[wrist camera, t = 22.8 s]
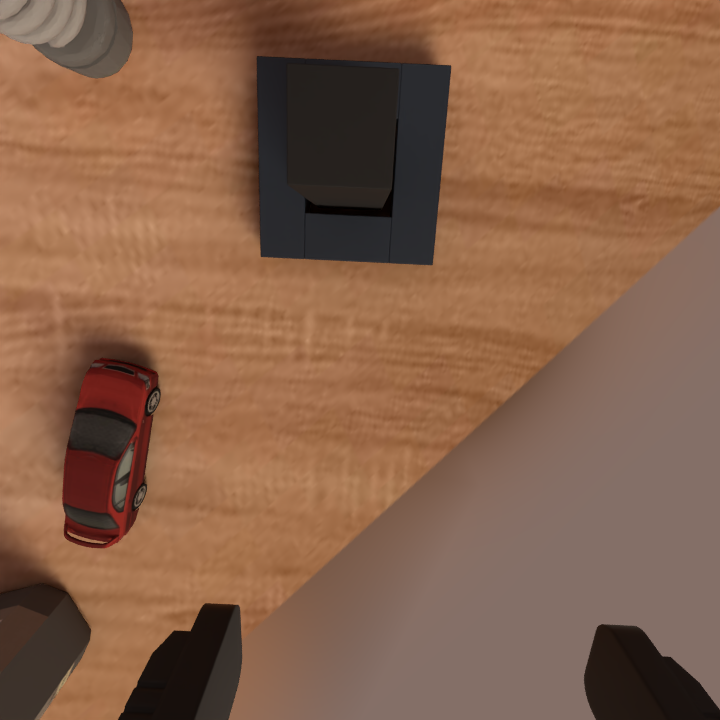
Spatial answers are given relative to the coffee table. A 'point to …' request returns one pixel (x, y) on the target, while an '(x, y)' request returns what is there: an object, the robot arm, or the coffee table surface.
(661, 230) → the coffee table surface
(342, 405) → the coffee table surface
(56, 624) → the liquor
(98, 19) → the light bulb
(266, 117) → the base pad
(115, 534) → the toy car
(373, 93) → the post
